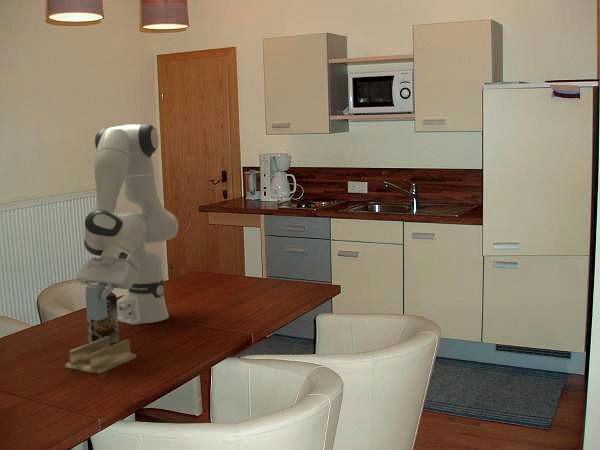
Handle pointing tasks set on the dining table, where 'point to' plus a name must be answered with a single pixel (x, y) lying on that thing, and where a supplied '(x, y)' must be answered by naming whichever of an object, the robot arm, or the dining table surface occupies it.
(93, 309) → the block
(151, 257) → the robot arm
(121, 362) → the beige ladder rack
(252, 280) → the dining table surface
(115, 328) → the coffee box
